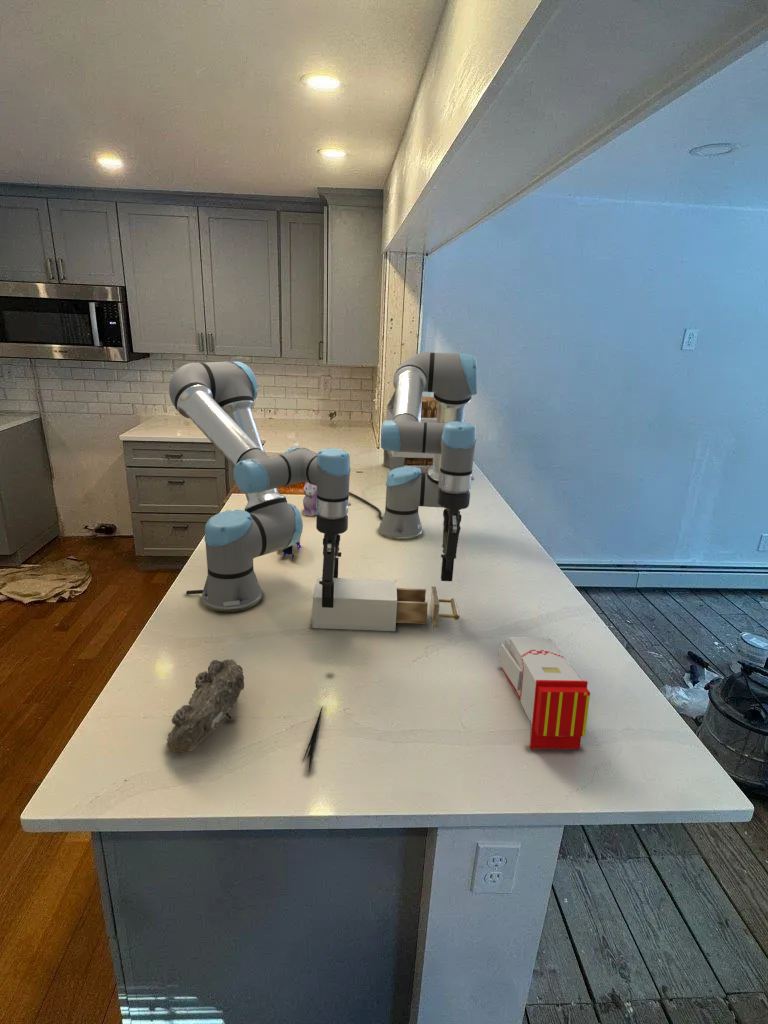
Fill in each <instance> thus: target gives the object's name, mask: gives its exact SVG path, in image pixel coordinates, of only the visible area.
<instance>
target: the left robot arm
mask: <svg viewBox="0 0 768 1024" xmlns="http://www.w3.org/2000/svg"><path fill="white" fill-rule="evenodd" d="M258 387H259V386H258V382H257V378H256V375H255V373H254V372H253V370H252V369H251V368H250V367H249V366H248V365H247V364H245V363H244V362H242V361H233V360H224V361H204V362H189V363H186V364H183V365H182V366H180V367H179V368H178V369H176V370H175V372H174V373H173V374H172V376H171V378H170V381H169V384H168V394H169V399H170V401H171V403H172V405H173V407H174V409H175V410H176V411H177V412H178V413H179V415H181V417H184V418H185V419H186V418H187V419H190V420H191V421H192V422H193V423H194V425H195V426H196V427H197V428H198V429H199V430H200V431H201V432H202V433H203V434H204V435H205V437H206V438H207V439H208V440H209V441H210V442H211V443H212V445H213V446H214V447H215V448H216V449H217V450H218V451H219V452H220V453H221V455H223V457H224V458H225V459H226V460H227V461H228V462H229V463H230V465H232V467H233V480H234V483H236V487H237V489H238V490H239V491H240V492H242V493H243V494H244V495H245V497H246V500H247V503H246V506H245V507H244V510H243V509H234V510H231V509H230V510H225V511H221V512H218V513H215V514H214V515H212V516H211V517H210V518H209V519H208V520H207V521H206V523H205V526H204V543H205V555H206V567H207V569H206V570H207V575H206V579H205V582H204V585H203V589H194V590H193V589H192V590H186V591H185V594H186V595H201V599H202V601H201V602H202V604H203V606H204V607H205V608H207V609H208V610H209V611H213V612H218V613H238V612H242V611H245V610H248V609H249V610H250V609H251V608H253V607H254V606H256V605H258V604H259V602H261V600H262V588H261V586H260V583H259V580H258V577H257V576H256V573H255V571H254V559H255V558H258V557H262V556H265V555H268V554H271V553H272V554H273V553H274V552H277V551H278V550H283V549H286V548H287V547H289V546H292V545H294V544H296V543H297V542H298V541H299V539H300V540H301V538H302V533H303V527H304V524H303V523H304V522H303V517H302V514H301V511H300V510H299V508H297V506H296V505H295V504H292V503H289V502H288V501H287V497H286V496H285V495H284V494H281V493H280V492H279V491H278V488H281V487H287V486H291V485H296V484H300V483H306V482H307V483H310V484H312V485H315V486H317V501H316V512H317V515H315V516H316V520H315V521H316V523H315V525H316V530H317V531H318V532H319V533H321V534H323V538H322V546H323V547H322V556H323V559H322V581H319V584H322V607H326V608H333V602H334V581H333V579H334V578H339V558H342V551H341V552H340V542H341V535H342V534H344V533H345V532H347V531H348V527H349V515H348V514H349V507H350V506H352V502H351V501H349V497H350V494H349V492H350V479H351V478H350V476H351V458H350V457H351V456H350V454H349V452H348V451H346V450H344V449H340V448H333V447H329V448H322V449H320V450H319V451H318V452H316V451H313V450H311V449H308V448H306V447H300V446H292V447H290V448H288V449H287V450H286V451H284V452H283V453H280V454H279V453H278V454H273V455H268V454H267V453H266V452H265V448H264V445H263V443H262V442H263V441H262V439H261V436H260V433H259V430H258V427H257V424H256V421H255V418H254V415H253V409H254V407H255V404H256V403H255V401H256V398H257V397H258V392H259V391H258Z"/></svg>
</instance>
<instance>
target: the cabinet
mask: <svg viewBox="0 0 768 1024" xmlns="http://www.w3.org/2000/svg"><path fill="white" fill-rule="evenodd" d="M319 581H322V577H321V576H319V577H318V576H317V577H316V582H315V585H314V589H313V594H312V600H311V601H312V603H311V604H312V605H311V606H312V610H311V611H312V612H311V613H312V617H311V618H312V620H311V621H312V629H328V630H329V629H331V630H354V631H355V630H358V631H379V632H380V631H383V632H384V631H385V632H396V629H397V626H396V625H397V623H396V613H397V588H398V587H397V586H398V585H397V580H395V579H374V578H373V579H372V578H349V577H348V578H347V577H346V578H344V577H338V578H334V579H333V581H334V602H333V608H326V607H322V584H319Z"/></svg>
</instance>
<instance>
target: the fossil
mask: <svg viewBox="0 0 768 1024" xmlns="http://www.w3.org/2000/svg"><path fill="white" fill-rule="evenodd" d="M243 670H244V669H243V667H242V665H240V664H237V662H236V661H235V660H234V659H232V658H231V659H227V658H226V659H224V660H223V661H222V660H217V659H212V660H211V661H210V663H209V665H208V666H207V671H201V672H199V673H198V674H197V675H196V676H195V680H194V684H195V685H194V687H195V689H194V690H193V693H192V694H191V697H190V698H189V700H188V704H184V705H182V706H181V707H180V709H177V710H176V711H175V713H174V715H173V716H172V718H171V723H172V724H173V727H172V730H171V731H170V732H168V734H167V738H166V741H167V742H166V745H167V749H168V750H169V751H173V752H174V753H176V754H178V753H182V752H188V751H189V752H192V751H193V750H195V748H196V747H197V746H199V744H200V743H201V742H203V741H204V740H205V739H206V738H207V737H208V736H209V735H210V734H211V733H212V732H214V730H215V729H217V727H218V726H219V724H220V722H221V721H222V720H223V719H224V718H225V716H226V717H227V719H229V720H233V717H232V715H230V714H229V710H230V709H231V708H234V706H235V704H236V703H237V702H238V699H239V697H240V695H241V693H242V691H243V690H245V689H244V688H245V675H244V671H243Z"/></svg>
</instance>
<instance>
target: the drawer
mask: <svg viewBox="0 0 768 1024" xmlns="http://www.w3.org/2000/svg"><path fill="white" fill-rule="evenodd" d="M426 592H427V589H426V588H409V587H397V613H396V624H422V625H427V619H428V618H427V617H428V605H429V612H430V619H431V626H432V629H438V626H439V625H438V624H439V618H443V619H444V618H446V619H447V618H448V619H454V620H455V621H458V620H460V618H461V616H460V612H459V608H458V603H457V599H456V598H455V597H451V598H450V599H445V598H444V599H440V598H439V594H438V590H437V586H433V585H432V586H431V589H430V600H429V603H428V601H426V595H427V593H426ZM440 603H448V604H449V603H450V607H451V611H452V614H444V613H440Z"/></svg>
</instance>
